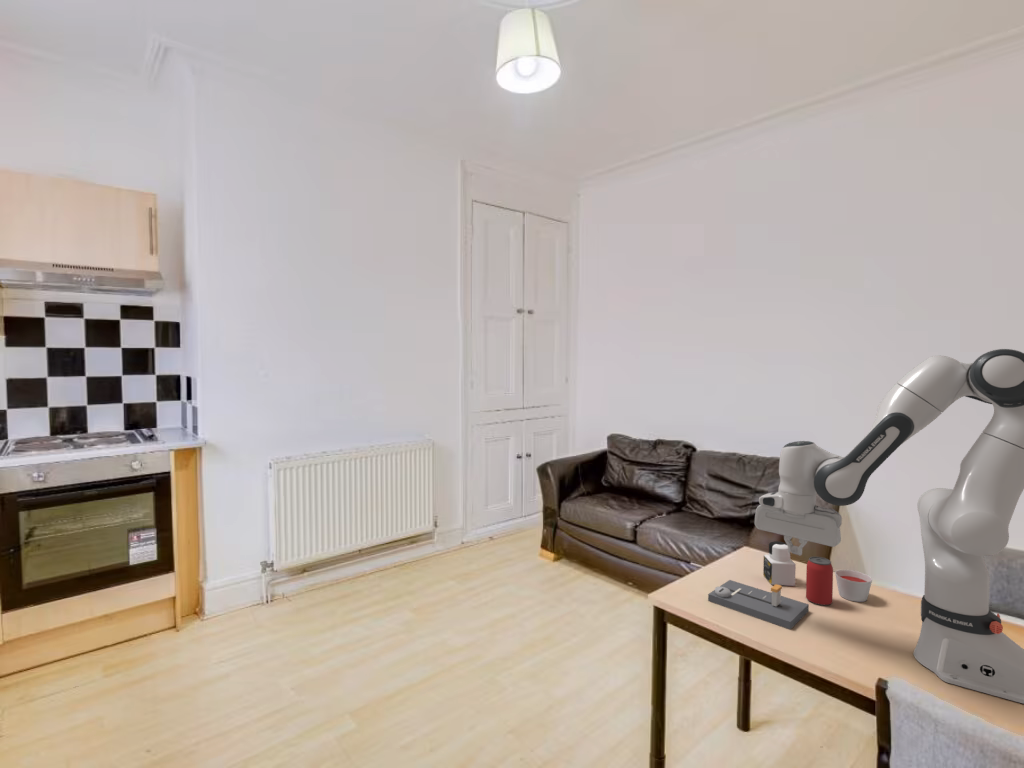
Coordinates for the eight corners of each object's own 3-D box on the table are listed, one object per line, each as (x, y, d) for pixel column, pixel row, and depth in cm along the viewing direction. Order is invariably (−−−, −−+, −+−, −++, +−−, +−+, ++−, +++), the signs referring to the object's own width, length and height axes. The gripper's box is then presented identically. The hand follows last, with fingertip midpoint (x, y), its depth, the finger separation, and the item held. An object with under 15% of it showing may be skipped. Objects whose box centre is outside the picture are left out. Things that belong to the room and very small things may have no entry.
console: (808, 611, 142) (808, 598, 142) (790, 629, 132) (790, 615, 132) (729, 586, 158) (729, 574, 158) (708, 600, 148) (708, 588, 148)
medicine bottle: (763, 575, 166) (763, 539, 165) (786, 576, 165) (787, 539, 164) (770, 585, 159) (771, 546, 158) (795, 586, 158) (796, 548, 157)
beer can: (825, 596, 151) (826, 556, 151) (837, 606, 145) (838, 564, 144) (801, 595, 152) (802, 555, 151) (812, 605, 145) (813, 564, 145)
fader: (781, 602, 142) (781, 585, 142) (776, 607, 140) (777, 589, 139) (775, 600, 143) (775, 584, 143) (770, 605, 141) (770, 588, 141)
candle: (829, 589, 156) (829, 568, 155) (861, 591, 154) (862, 570, 154) (843, 603, 147) (844, 581, 147) (878, 605, 145) (878, 583, 145)
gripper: (845, 508, 131) (843, 561, 131) (762, 492, 145) (760, 540, 146) (838, 513, 126) (836, 568, 127) (752, 496, 141) (751, 546, 142)
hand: (795, 553), depth 137 cm, fingers closed
